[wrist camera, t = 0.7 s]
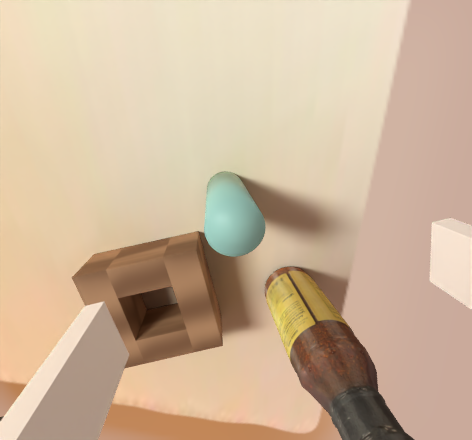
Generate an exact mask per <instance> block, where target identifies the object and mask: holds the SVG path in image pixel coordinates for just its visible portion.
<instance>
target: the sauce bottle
mask: <svg viewBox="0 0 472 440" xmlns="http://www.w3.org/2000/svg"><path fill="white" fill-rule="evenodd" d="M265 297H266V299H267V304H268V306H269V309H270V311H271V314H272V317H273V319H274V321H275V324H276V326H277V329H278V331H279V334H280V336H281V339H282V342H283V344H284V347H285V349H286V352H287V354H288V357H289V359H290V361H291V364H292V366H293V368H294V370H295V372H296V373H297V375H298V377H299V380H300V382H301V385H302V387H303V388H305V389H306V390H307V391H308V392H309V393H310V394H311V395H312V396H313V397H314V398H315V399H316V400H317V401H318V402H319V403H320V404H321V406H322V407H323V408H324V409H325V410H326V411H327V412H328V413H329V415H330V416H331V417H332V421H333V424H334V425H335V427H336V428H337V429H338V431H339V433H340V436H341V438H342V440H414V439H413V438H412V437H411V436H409V435H408V434H407V433H405V432H404V430H403V429H402V427H401V426H400V424H399V423H398V422H397V420H396V418H395V417H394V415H393V414H392V413H391V411H390V409H389V408H388V407H387V405H386V403H385V400H384V399H383V397H382V396H381V395H380V394H379V392H378V384H377V372H376V369H375V365H374V363H373V362H372V360H371V358H370V356H369V354H368V352H367V351H366V349H365V347H363V345H362V344H361V343H360V342H359V340H358V339H357V338H356V337H355V335H354V333H353V331H352V330H351V328H350V327H349V326H348V324H347V323H346V322H345V320H344V319H343V318H342V317H341V315H340V314H339V313H338V311H337V310H336V309H335V308H334V306H333V305H332V304H331V302H330V301H329V300H328V299H327V297H326V296H325V295H324V293H323V292H322V291H321V289H320V288H319V287H318V286H317V284H316V283H315V282H314V280H313V279H312V278H311V277H310V276H309V275H307V274H306V273H305V272H304V271H303V270H302V269H300V268H296V267H284V268H280V269H278V270H276V271H275V272H274V273H273V274H272V275H270V277H269V278H268V280H267V281H266V284H265Z"/></svg>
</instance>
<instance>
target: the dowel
mask: <svg viewBox="0 0 472 440" xmlns="http://www.w3.org/2000/svg"><path fill="white" fill-rule="evenodd" d="M204 232H205V237H206V239H207V241H208V243H209V245H210V246H211V247H212V248H213V249H214V250H215V251H217V252H218V253H220V254H223V255H226V256H233V257H234V256H242V255H245V254H248V253H249V252H251V251H253V250H254V249H255V248H256V247H257V246H258V245H259V244H260V242H261V241H262V239H263V237H264V234H265V220H264V217H263V215H262V213H261V211H260V210H259V208H258V207H257V205H256V203H255V202H254V200H253V199H252V197H251V195H250V194H249V192H248V191H247V189H246V187H245V186H244V184H243V183H242V181H241V179H240V178H239V177H238V176H237V175H235V174H234V173H231V172H220V173H217V174H216V175H214V176H213V177H212V178H211V179H210V181H209V183H208V186H207V197H206V211H205V225H204Z"/></svg>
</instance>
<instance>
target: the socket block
mask: <svg viewBox="0 0 472 440" xmlns="http://www.w3.org/2000/svg"><path fill="white" fill-rule="evenodd" d="M72 279H73V281H74V283H75V285H76V287H77V289H78V291H79V294H80V296H81V298H82V300H83V302H84V304H85V306H87V305H91V304H95V303H99V302H103V301H104V302H105V304H106V306H107V308H108V310H109V313H110V315H111V317H112V319H113V321H114V323H115V325H116V327H117V330H118V332H119V334H120V336H121V338H122V340H123V342H124V345H125V347H126V349H127V351H128V353H129V357H128V360H127V362H126V365H125V368H128V367H132V366H136V365H141V364H145V363H149V362H154V361H158V360H162V359H167V358H171V357H176V356H180V355H184V354H189V353H193V352H197V351H202V350H206V349H210V348H215V347H219V346H223V341H222V323H221V313H220V309H219V306H218V302H217V298H216V295H215V291H214V287H213V283H212V280H211V276H210V272H209V268H208V265H207V261H206V257H205V254H204V250H203V246H202V242H201V239H200V235H199V231H198V232H193V233H188V234H184V235H179V236H175V237H170V238H166V239H161V240H157V241H152V242H148V243H143V244H138V245H134V246H129V247H125V248H120V249H116V250H111V251H107V252H102V253H97V254H94V255H93V256H92V257H91V258H90V259H89V260H88V261H87V262H86V263H85V265H84V266H83V267H82V268H81V269H80V270H79V271H78V272H77V273H76V274H75V275H74V276H73V277H72ZM171 286H172V287H173V290H174V293H175V296H176V299H177V302H178V303H177V304H172V305H168V306H163V307H159V308H155V309H150V310H147V309H146V307H145V304H144V302H143V299H142V297H141V294H140V293H144V292H148V291H153V290H157V289H162V288H166V287H171Z"/></svg>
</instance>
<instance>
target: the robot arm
mask: <svg viewBox="0 0 472 440" xmlns="http://www.w3.org/2000/svg"><path fill="white" fill-rule="evenodd" d="M430 282H431V283H433V284H434V285H436V286H437V287H439V288H440V289H442V290H443V291H445V292H446V293H448V294H449V295H451V296H452V297H453V298H455V299H457V300H458V301H459V302H461V303H462V304H464V305H465V306H467V307H468V308H470V309H471V310H472V225H470V224H467V223H464V222H461V221H458V220H455V219H453V218H448V219H443V220H439V221H435V222H432V234H431V258H430ZM128 357H129V353H128V351H127V349H126V347H125V345H124V342H123V340H122V338H121V336H120V334H119V332H118V330H117V327H116V325H115V323H114V321H113V319H112V317H111V315H110V313H109V310H108V308H107V306H106V304H105V302H104V301H103V302H99V303H95V304H91V305H87V306H84V308H83V309H82V310H81V312H80V313H79V314H78V316H77V317H76V319H75V320H74V321H73V323H72V324H71V325H70V327H69V328H68V330H67V331H66V332H65V334H64V335H63V336H62V338H61V339H60V340H59V342H58V343H57V345H56V346H55V347H54V349H53V350H52V351H51V353H50V354H49V356H48V357H47V358H46V360H45V361H44V362H43V364H42V365H41V366H40V368H39V369H38V371H37V372H36V373H35V375H34V376H33V377H32V379H31V380H30V382H29V383H28V384H27V386H26V387H25V389H24V390H23V391H22V392H21V394H20V395H19V397H18V398H17V399H16V401H15V402H14V403H13V405H12V406H11V408H10V409H9V410H8V412H7V413H6V415H5V416H3V417H0V440H98V438H99V436H100V433H101V430H102V428H103V425H104V422H105V419H106V417H107V414H108V411H109V409H110V406H111V403H112V400H113V398H114V395H115V392H116V390H117V387H118V384H119V381H120V379H121V376H122V373H123V371H124V368H125V365H126V362H127V360H128Z"/></svg>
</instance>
